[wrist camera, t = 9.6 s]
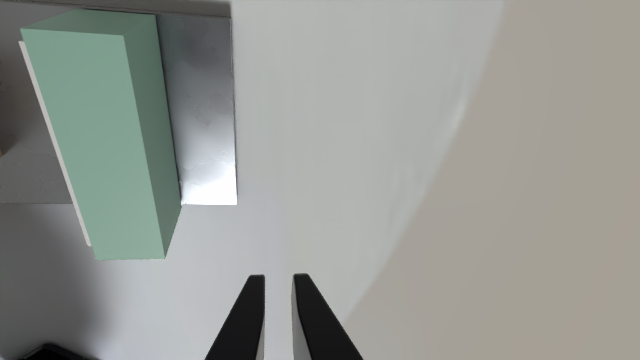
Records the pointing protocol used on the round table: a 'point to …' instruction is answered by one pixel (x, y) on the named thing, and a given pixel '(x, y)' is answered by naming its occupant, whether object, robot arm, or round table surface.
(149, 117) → the block
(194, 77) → the grey angle bracket
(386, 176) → the round table surface
